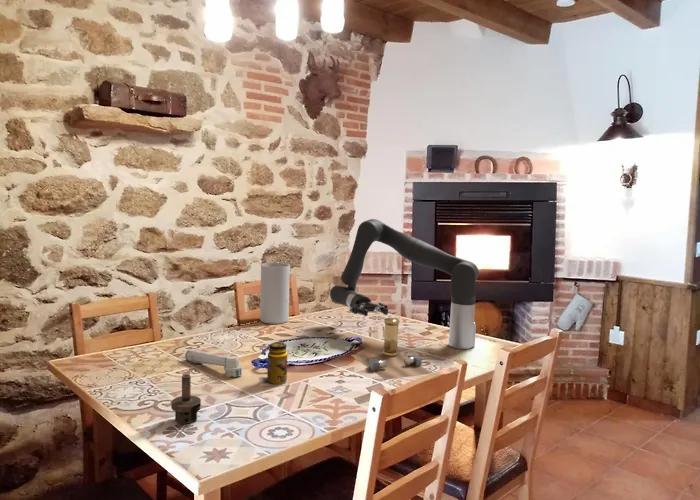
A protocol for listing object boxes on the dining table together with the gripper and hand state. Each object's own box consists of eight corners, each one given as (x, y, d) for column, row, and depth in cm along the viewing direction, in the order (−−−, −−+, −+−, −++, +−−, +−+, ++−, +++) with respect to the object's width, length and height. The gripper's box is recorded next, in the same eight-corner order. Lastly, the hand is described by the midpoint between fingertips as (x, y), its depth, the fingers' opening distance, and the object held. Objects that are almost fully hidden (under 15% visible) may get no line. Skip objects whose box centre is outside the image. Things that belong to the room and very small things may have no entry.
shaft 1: (383, 366, 190) (384, 358, 190) (387, 370, 186) (387, 362, 185) (368, 367, 189) (369, 359, 188) (372, 371, 185) (372, 363, 184)
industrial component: (164, 421, 143) (164, 376, 141) (186, 412, 149) (186, 368, 148) (190, 431, 138) (190, 384, 137) (211, 421, 144) (212, 376, 143)
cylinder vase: (273, 315, 256) (274, 261, 253) (294, 320, 249) (295, 265, 246) (254, 320, 246) (254, 264, 243) (274, 325, 239) (276, 268, 236)
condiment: (289, 385, 171) (290, 347, 170) (261, 386, 169) (261, 348, 168) (286, 377, 178) (287, 340, 177) (259, 378, 176) (260, 341, 175)
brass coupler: (393, 351, 207) (394, 317, 205) (400, 356, 202) (402, 321, 200) (380, 353, 205) (381, 318, 203) (387, 357, 200) (388, 322, 198)
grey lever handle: (195, 347, 193) (244, 353, 178) (197, 366, 193) (246, 374, 178) (182, 350, 189) (232, 357, 174) (184, 370, 189) (233, 378, 174)
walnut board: (394, 352, 209) (394, 350, 208) (432, 374, 185) (432, 373, 185) (350, 356, 201) (350, 355, 201) (384, 381, 178) (384, 379, 178)
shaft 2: (412, 362, 196) (413, 354, 196) (421, 365, 192) (421, 357, 192) (401, 364, 193) (401, 356, 192) (410, 368, 189) (410, 360, 189)
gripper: (343, 294, 223) (360, 303, 208) (374, 293, 229) (394, 302, 214) (342, 313, 224) (359, 323, 209) (373, 311, 230) (392, 321, 215)
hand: (377, 312), depth 212 cm, fingers open, 8 cm apart
